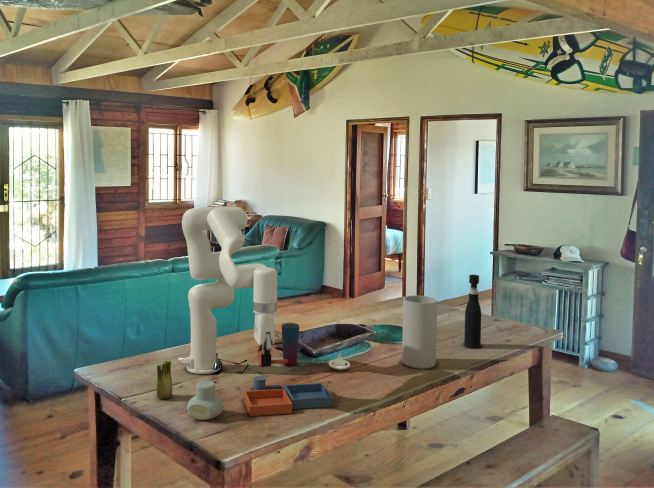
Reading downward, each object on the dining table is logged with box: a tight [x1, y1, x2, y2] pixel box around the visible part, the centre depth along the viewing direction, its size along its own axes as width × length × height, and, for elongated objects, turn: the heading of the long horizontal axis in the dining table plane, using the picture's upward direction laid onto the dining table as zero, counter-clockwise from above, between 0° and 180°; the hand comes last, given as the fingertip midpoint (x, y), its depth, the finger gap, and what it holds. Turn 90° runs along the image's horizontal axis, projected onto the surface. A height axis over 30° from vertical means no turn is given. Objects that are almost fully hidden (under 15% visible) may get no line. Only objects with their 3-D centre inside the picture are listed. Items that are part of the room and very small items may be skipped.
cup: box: [281, 322, 300, 367], centre depth 229 cm, size 7×7×15 cm
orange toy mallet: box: [258, 350, 288, 367], centre depth 192 cm, size 9×4×4 cm, turn 100°
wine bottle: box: [463, 274, 482, 349], centre depth 252 cm, size 6×6×30 cm
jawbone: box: [273, 329, 282, 345], centre depth 257 cm, size 9×20×2 cm, turn 161°
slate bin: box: [283, 382, 334, 410], centre depth 195 cm, size 13×12×3 cm
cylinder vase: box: [401, 295, 438, 370], centre depth 230 cm, size 12×12×25 cm
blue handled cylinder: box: [253, 375, 282, 391], centre depth 204 cm, size 9×4×4 cm, turn 100°
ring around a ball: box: [328, 353, 351, 371], centre depth 224 cm, size 8×6×8 cm
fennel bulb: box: [155, 360, 173, 400], centre depth 196 cm, size 6×5×12 cm
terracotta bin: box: [243, 388, 293, 417], centre depth 190 cm, size 13×12×3 cm
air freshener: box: [186, 380, 224, 421], centre depth 183 cm, size 11×8×10 cm
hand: (264, 363), depth 192 cm, fingers closed on orange toy mallet, 4 cm apart
